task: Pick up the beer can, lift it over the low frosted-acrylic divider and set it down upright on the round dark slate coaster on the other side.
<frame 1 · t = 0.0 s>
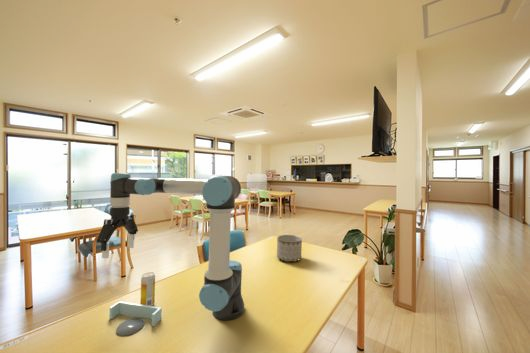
hand: (118, 252, 100), 28 cm above the table, fingers open, 13 cm apart
divider: (138, 315, 98), on the table
coaster: (130, 327, 91), on the table
planter: (288, 259, 172), on the table
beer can: (147, 305, 107), on the table
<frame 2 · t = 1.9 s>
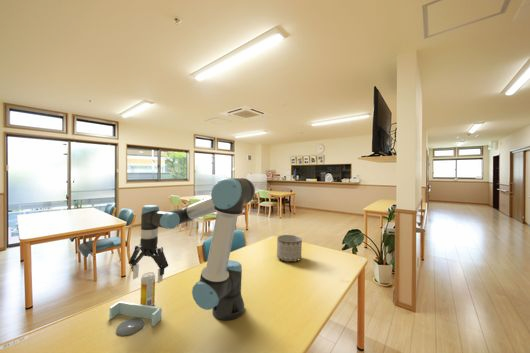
hand: (147, 279, 107), 12 cm above the table, fingers open, 13 cm apart
nothing on the table moved.
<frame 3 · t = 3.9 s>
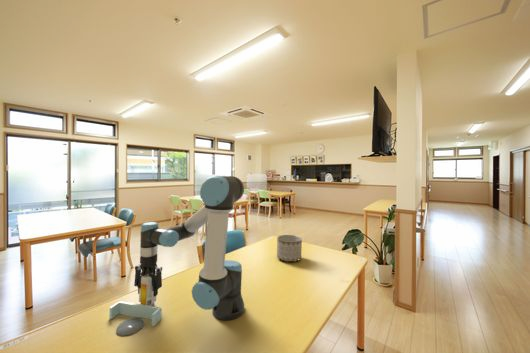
hand: (147, 301, 107), 2 cm above the table, fingers closed on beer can, 6 cm apart
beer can: (147, 305, 107), on the table, touching gripper
everything else where it was.
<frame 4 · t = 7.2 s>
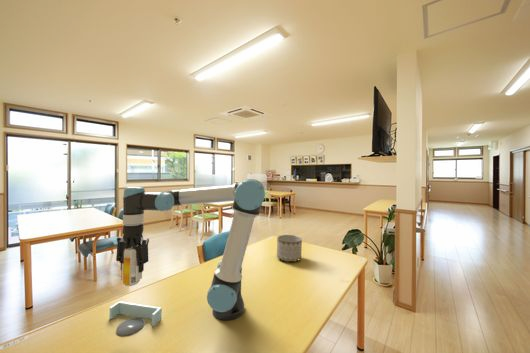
hand: (131, 278, 91), 20 cm above the table, fingers closed on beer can, 6 cm apart
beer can: (131, 283, 91), point 18 cm above the table, touching gripper
everything else where it was.
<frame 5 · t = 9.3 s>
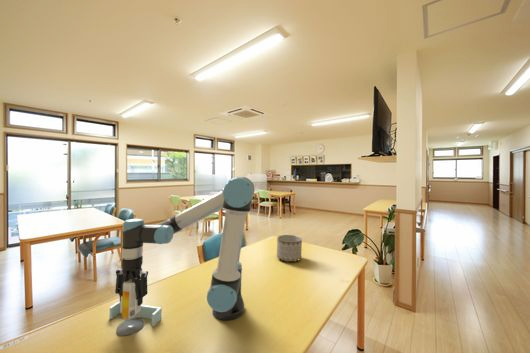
hand: (130, 311, 91), 7 cm above the table, fingers closed on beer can, 6 cm apart
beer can: (130, 316, 91), point 5 cm above the table, touching gripper
everything else where it was.
when the fingers open (4 cm above the table, at t = 10.8 s): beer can drops 1 cm, resting on coaster.
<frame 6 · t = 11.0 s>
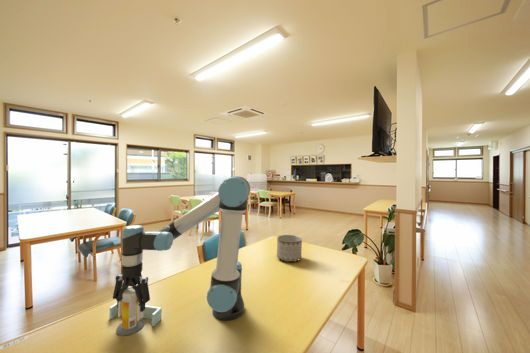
hand: (130, 316, 91), 4 cm above the table, fingers open, 8 cm apart
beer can: (130, 325, 91), resting on coaster
everything else where it was.
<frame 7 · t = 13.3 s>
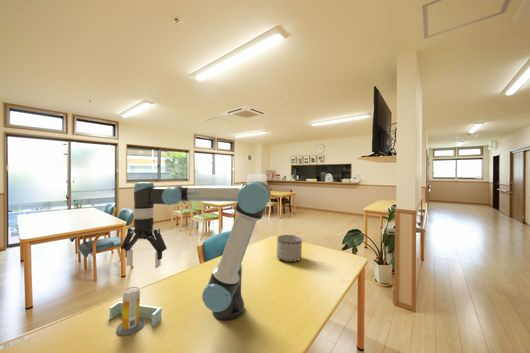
hand: (143, 265, 95), 24 cm above the table, fingers open, 13 cm apart
nothing on the table moved.
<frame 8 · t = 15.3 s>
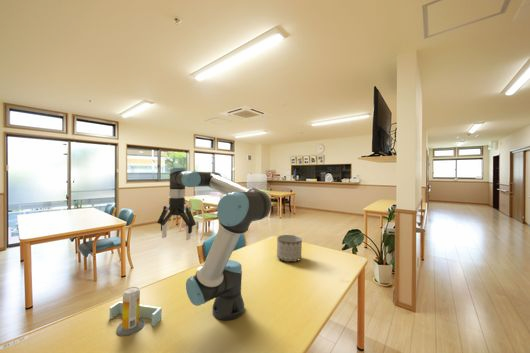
hand: (176, 238, 112), 32 cm above the table, fingers open, 13 cm apart
nothing on the table moved.
at the end: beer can 0.0 cm from the coaster (horizontally); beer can tilted 0°; the gripper is holding nothing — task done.
